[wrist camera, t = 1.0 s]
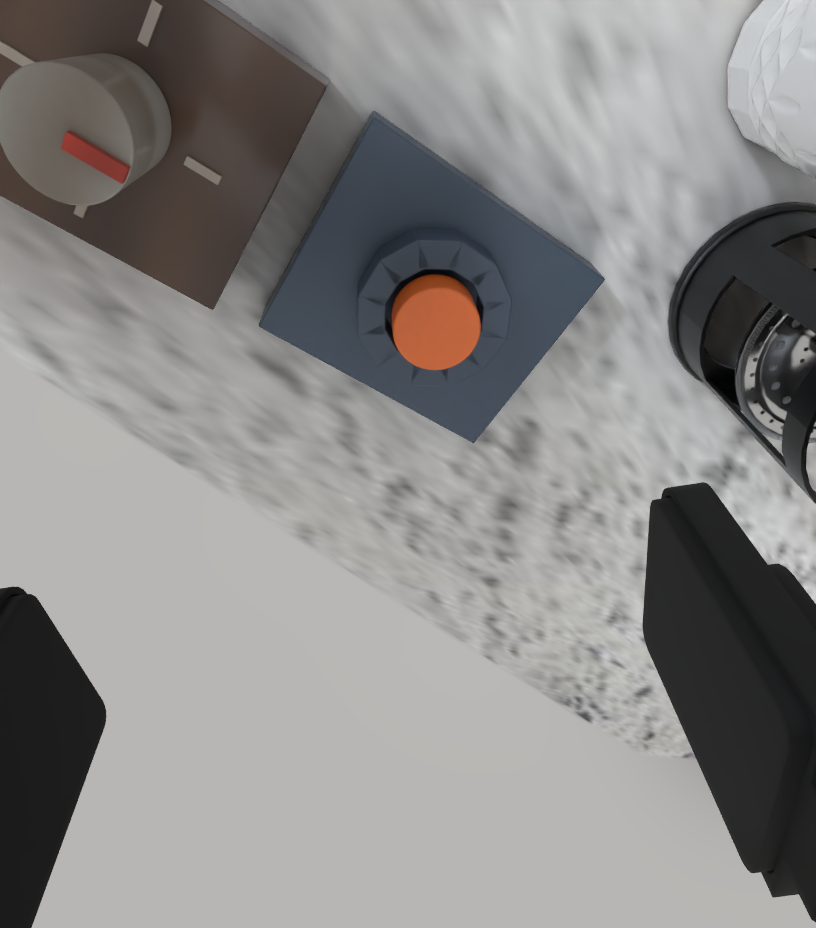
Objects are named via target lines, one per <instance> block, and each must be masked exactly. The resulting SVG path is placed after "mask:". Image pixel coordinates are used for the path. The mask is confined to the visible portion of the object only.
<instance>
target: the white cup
mask: <svg viewBox="0 0 816 928" xmlns="http://www.w3.org/2000/svg"><path fill="white" fill-rule="evenodd" d="M728 108H729V110H730V112H731V114H732V116H733V118H734V120H735V122H736V124H737V125H738V127H739V129H740V131H741V133H742V135H743V137H745V138H746V139H748V140H750V141H752V142H754V143H755V144H757V145H759V146H761V147H763V148H765V149H766V150H768V151H770V152H772V153H774V154H776V155H778V156H779V157H780V158H781V160H783V161H784V162H786V163H788V164H790V165H792V166H794V167H796V168H797V169H799V170H801V171H802V172H804V173H806V174H808V175H810V176H812V177H814V178H816V0H763V1H762V2H761V3H760V4H759V6H758V7H757V8H756V9H755V10H754V12H753V13H752V14H751V15H750V16H749V18H748V19H747V20H746V21H745V23H744V25H743V27H742V30H741V32H740V35H739V38H738V40H737V43H736V45H735V48H734V51H733V53H732V56H731V58H730V61H729V64H728Z"/></svg>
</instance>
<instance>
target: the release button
mask: <svg viewBox="0 0 816 928" xmlns="http://www.w3.org/2000/svg"><path fill="white" fill-rule="evenodd" d="M392 329H393V338H394V342H395V345H396V347H397V349H398V350H399V352H400V353H401V355H402V356H403V357H404V358H405V359H406V360H407V361H409V362H410V363H412V364H413V365H415V366H417V367H420V368H423V369H428V370H442V369H447V368H450V367H453V366H455V365H457V364H459V363H460V362H462V361H463V360H465V359H466V358H467V357H468V356H469V355H470V354H471V352H472V351H473V350H474V348H475V347H476V344H477V342H478V340H479V337H480V331H481V322H480V317H479V313H478V311H477V308H476V305H475V303H474V300H473V298H472V295H471V294H470V292H469V291H468V289H467V288H466V287H465V286H464V285H463V284H462V283H461V282H459V281H458V280H456V279H454V278H452V277H449V276H446V275H441V274H430V275H424V276H421V277H418V278H416V279H414V280H412V281H411V282H409V283H408V284H407V285H405V286H404V288H403V289H402V290H401V291H400V292H399V294H398V295H397V297H396V299H395V301H394V304H393V308H392Z"/></svg>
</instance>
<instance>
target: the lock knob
mask: <svg viewBox="0 0 816 928" xmlns="http://www.w3.org/2000/svg"><path fill="white" fill-rule="evenodd" d="M171 130H172V126H171V117H170V112H169V108H168V105H167V102H166V100H165V98H164V96H163V94H162V92H161V90H160V88H159V87H158V86H157V84H156V83H155V81H154V80H153V79H152V78H151V77H150V76H149V75H148V74H147V73H146V72H145V71H144V70H143V69H142V68H140V67H139V66H138V65H136V64H135V63H133V62H131V61H130V60H128V59H125V58H123V57H121V56H117V55H114V54H107V53H95V54H88V55H81V56H74V57H68V58H61V59H54V60H47V61H41V62H35V63H31V64H28V65H25V66H23V67H21V68H19V69H18V70H16V71H15V72H14V73H13V74H11V75H10V76H9V78H8V79H7V80H6V81H5V83H4V84H3V86H2V88H1V90H0V143H1V146H2V148H3V150H4V152H5V154H6V156H7V158H8V160H9V161H10V163H11V164H12V166H13V167H14V168H15V170H16V171H17V172H18V173H19V174H20V176H21V177H22V178H23V179H24V180H25V181H26V182H27V183H29V184H30V185H31V186H32V187H34V188H35V189H36V190H37V191H39V192H41V193H42V194H44V195H46V196H48V197H50V198H52V199H54V200H56V201H59V202H62V203H66V204H70V205H77V206H89V205H95V204H99V203H102V202H104V201H106V200H108V199H110V198H112V197H113V196H115V195H116V194H117V193H119V192H120V191H121V190H123V189H124V188H126V187H127V186H128V185H130V184H131V183H132V182H134V181H135V180H137V179H138V178H139V177H141V176H142V175H144V174H145V173H146V172H148V171H149V170H150V169H152V168H153V167H155V166H156V165H157V164H158V163H159V162H160V161H161V160H162V158H163V157H164V155H165V153H166V151H167V149H168V147H169V144H170V139H171Z"/></svg>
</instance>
